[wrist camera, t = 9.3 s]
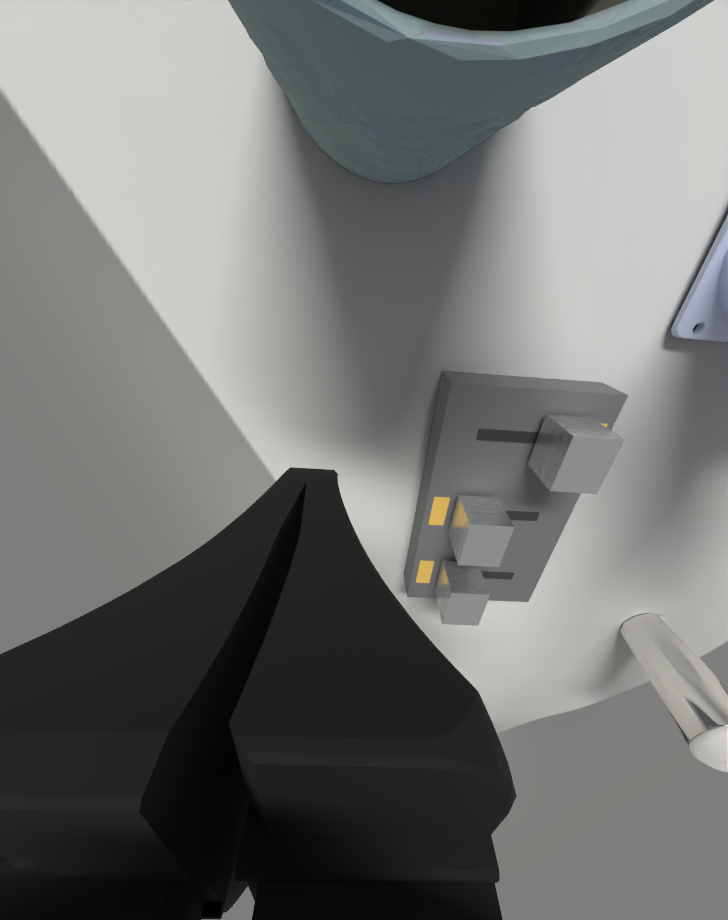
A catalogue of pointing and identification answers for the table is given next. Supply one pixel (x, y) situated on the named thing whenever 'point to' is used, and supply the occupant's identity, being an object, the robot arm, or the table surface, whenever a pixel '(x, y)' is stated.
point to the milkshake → (683, 687)
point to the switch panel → (497, 472)
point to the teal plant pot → (435, 68)
